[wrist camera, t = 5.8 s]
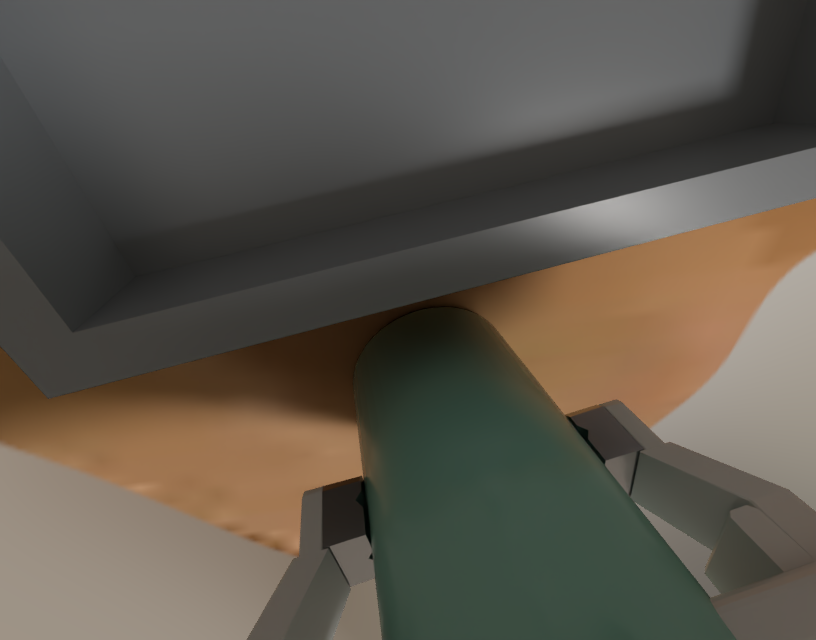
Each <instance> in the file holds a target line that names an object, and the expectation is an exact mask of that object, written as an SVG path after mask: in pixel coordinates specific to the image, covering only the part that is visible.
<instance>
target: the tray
mask: <svg viewBox="0 0 816 640" xmlns="http://www.w3.org/2000/svg"><path fill="white" fill-rule="evenodd" d="M814 198H816V0H0V346H1V348H2V349H3V350H4V351H5V352H6V353H7V354H8V355H9V356H10V357H11V358H12V360H13V361H14V362H15V363H16V364H17V365H18V366H19V367H20V368H21V369H22V371H23V372H24V373H25V374H26V375H27V376H28V377H29V378H30V379H31V380H32V382H33V383H34V384H35V385H36V386H37V387H38V388H39V389H40V390H41V391H42V393H43V394H44V395H45V396H46V397H47V398H48V399H49V398H53V397H57V396H61V395H65V394H69V393H72V392H76V391H80V390H84V389H88V388H91V387H95V386H99V385H103V384H107V383H111V382H114V381H118V380H122V379H126V378H130V377H133V376H137V375H141V374H145V373H149V372H153V371H156V370H160V369H164V368H168V367H172V366H176V365H179V364H183V363H187V362H191V361H195V360H198V359H202V358H206V357H210V356H214V355H218V354H221V353H225V352H229V351H233V350H237V349H240V348H244V347H248V346H252V345H256V344H260V343H263V342H267V341H271V340H275V339H279V338H283V337H286V336H290V335H294V334H298V333H302V332H305V331H309V330H313V329H317V328H321V327H325V326H328V325H332V324H336V323H340V322H344V321H347V320H351V319H355V318H359V317H363V316H367V315H370V314H374V313H378V312H382V311H386V310H390V309H393V308H397V307H401V306H405V305H409V304H412V303H416V302H420V301H424V300H428V299H432V298H435V297H439V296H443V295H447V294H451V293H454V292H458V291H462V290H466V289H470V288H474V287H477V286H481V285H485V284H489V283H493V282H497V281H500V280H504V279H508V278H512V277H516V276H519V275H523V274H527V273H531V272H535V271H539V270H542V269H546V268H550V267H554V266H558V265H561V264H565V263H569V262H573V261H577V260H581V259H584V258H588V257H592V256H596V255H600V254H604V253H607V252H611V251H615V250H619V249H623V248H626V247H630V246H634V245H638V244H642V243H646V242H649V241H653V240H657V239H661V238H665V237H668V236H672V235H676V234H680V233H684V232H688V231H691V230H695V229H699V228H703V227H707V226H711V225H714V224H718V223H722V222H726V221H730V220H733V219H737V218H741V217H745V216H749V215H753V214H756V213H760V212H764V211H768V210H772V209H775V208H779V207H783V206H787V205H791V204H795V203H798V202H802V201H806V200H810V199H814Z"/></svg>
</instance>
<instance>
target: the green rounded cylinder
mask: <svg viewBox="0 0 816 640" xmlns="http://www.w3.org/2000/svg"><path fill="white" fill-rule="evenodd" d="M353 391H354V400H355V409H356V417H357V426H358V435H359V443H360V452H361V461H362V469H363V478H364V487H365V495H366V504H367V513H368V521H369V530H370V539H371V547H372V556H373V565H374V574H375V582H376V590H377V599H378V608H379V616H380V625H381V633H382V640H737V639H736V638H735V637H734V635H733V634H732V632H731V631H730V630H729V628H728V627H727V626H726V624H725V623H724V621H723V620H722V619H721V617H720V616H719V614H718V613H717V611H716V609H715V608H714V606H713V604H712V603H711V601H710V597H709V596H708V594H707V593H706V592H705V590H704V589H703V588H702V587H701V585H700V584H699V583H698V581H697V580H696V579H695V578H694V576H693V575H692V574H691V573H690V571H689V570H688V569H687V568H686V567H685V565H684V564H683V563H682V561H681V560H680V559H679V558H678V556H677V555H676V554H675V553H674V551H673V550H672V549H671V548H670V547H669V545H668V544H667V543H666V541H665V540H664V539H663V538H662V537H661V535H660V534H659V533H658V531H657V530H656V529H655V528H654V526H653V525H652V524H651V523H650V521H649V520H648V519H647V518H646V516H645V515H644V514H643V513H642V511H641V510H640V509H639V508H638V506H637V505H636V504H635V503H634V501H633V500H632V499H631V498H630V496H629V495H628V494H627V493H626V491H625V490H624V489H623V487H622V486H621V485H620V484H619V482H618V481H617V480H616V479H615V477H614V476H613V475H612V474H611V472H610V471H609V470H608V469H607V467H606V466H605V465H604V464H603V462H602V461H601V460H600V459H599V457H598V456H597V455H596V454H595V452H594V451H593V450H592V449H591V447H590V446H589V445H588V444H587V442H586V441H585V440H584V439H583V437H582V436H581V435H580V434H579V432H578V431H577V430H576V429H575V427H574V426H573V425H572V424H571V422H570V421H569V420H568V419H567V417H566V416H565V415H564V414H563V412H562V411H561V410H560V409H559V407H558V406H557V405H556V404H555V402H554V401H553V400H552V399H551V397H550V396H549V395H548V393H547V392H546V391H545V390H544V388H543V387H542V386H541V385H540V383H539V382H538V381H537V380H536V378H535V377H534V376H533V375H532V373H531V372H530V371H529V370H528V368H527V367H526V366H525V365H524V363H523V362H522V361H521V360H520V358H519V357H518V356H517V355H516V353H515V352H514V351H513V350H512V348H511V347H510V346H509V345H508V343H507V342H506V341H505V340H504V338H503V337H502V336H501V335H500V333H499V332H498V331H497V330H496V328H495V327H494V326H493V325H492V324H491V323H490V322H489V321H487V320H486V319H484V318H483V317H481V316H479V315H477V314H475V313H473V312H470V311H467V310H464V309H459V308H453V307H437V308H428V309H423V310H419V311H416V312H413V313H410V314H407V315H405V316H403V317H401V318H398V319H397V320H395V321H393V322H392V323H390V324H388V325H387V326H386V327H384V328H383V329H382V330H380V331H379V332H378V333H377V334H376V335H375V336H374V337H373V338H372V339H371V340H370V341H369V343H368V344H367V345H366V347H365V348H364V350H363V351H362V353H361V355H360V356H359V359H358V361H357V364H356V367H355V371H354V375H353Z"/></svg>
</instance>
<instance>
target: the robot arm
mask: <svg viewBox="0 0 816 640" xmlns="http://www.w3.org/2000/svg"><path fill="white" fill-rule="evenodd" d="M565 416H566V417H567V419H568V420H569V421H570V422H571V424H572V425H573V426H574V427H575V429H576V430H577V431H578V432H579V434H580V435H581V436H582V437H583V439H584V440H585V441H586V442H587V444H588V445H589V446H590V447H591V449H592V450H593V451H594V452H595V454H596V455H597V456H598V457H599V459H600V460H601V461H602V462H603V464H604V465H605V466H606V467H607V469H608V470H609V471H610V472H611V474H612V475H613V476H614V477H615V479H616V480H617V481H618V482H619V484H620V485H621V486H622V487H623V489H624V490H625V491H626V493H627V494H628V495H629V496H630V497H631V499H632V500H633V501H634V502H636V503H637V504H639V505H641V506H642V507H644V508H645V509H647V510H649V511H650V512H652V513H653V514H655V515H657V516H658V517H660V518H661V519H663V520H664V521H666V522H668V523H669V524H671V525H672V526H674V527H676V528H677V529H679V530H680V531H682V532H684V533H685V534H687V535H688V536H690V537H691V538H693V539H695V540H696V541H698V542H699V543H701V544H703V545H704V546H706V547H707V548H709V549H711V550H712V553H711V555H710V557H709V560H708V562H707V564H706V566H705V574H706V576H707V577H708V578H709V579H710V581H711V582H712V583H713V584H714V585H715V587H716V588H717V589H718V590H719V592H720V593H721V594H720V595H717V596H714V597H711V598H710V601H711V603H712V604H713V606H714V608H715V609H716V611H717V613H718V614H719V616H720V617H721V619H722V620H723V621H724V623H725V624H726V626H727V627H728V628H729V630H730V631H731V632H732V634H733V635H734V637H735V638H736V639H737V640H816V512H815V511H814V510H813V509H812V508H810V507H809V506H808V505H807V504H806V503H805V502H803V501H802V500H801V499H799V498H798V497H797V496H796V495H795V494H794V493H792V492H791V491H790V490H788V489H786V488H783V487H781V486H778V485H776V484H773V483H771V482H768V481H766V480H763V479H761V478H758V477H756V476H753V475H751V474H748V473H746V472H744V471H741V470H739V469H736V468H733V467H731V466H728V465H726V464H724V463H721V462H719V461H716V460H714V459H711V458H709V457H706V456H704V455H701V454H699V453H696V452H694V451H691V450H689V449H686V448H684V447H681V446H679V445H676V444H674V443H671V442H668V443H664V442H663V441H662V440H661V439H660V438H659V437H658V436H656V435H655V434H654V433H653V432H652V431H651V430H650V429H649V428H648V427H647V426H646V425H645V424H644V423H643V422H642V421H641V420H640V419H639V418H638V417H637V416H636V415H635V414H634V413H633V412H632V411H630V410H629V409H628V408H627V407H626V406H625V405H624V404H623V403H622V402H621V401H619V400H617V399H616V400H613V401H609V402H606V403H603V404H599V405H594V406H591V407H588V408H585V409H582V410H579V411H575V412H572V413H569V414H566V415H565ZM374 578H375V574H374V565H373V556H372V547H371V539H370V530H369V521H368V513H367V504H366V495H365V487H364V480H363V478H362V476H359V477H356V478H352V479H348V480H344V481H341V482H337V483H333V484H329V485H326V486H322V487H319V488H315V489H312V490H308V491H305V492H304V494H303V497H302V509H301V529H300V548H299V557H297V558H294V559H293V560H292V562H291V563H290V565H289V567H288V569H287V570H286V572H285V574H284V576H283V577H282V579H281V581H280V583H279V584H278V586H277V588H276V590H275V591H274V593H273V595H272V597H271V598H270V600H269V602H268V603H267V605H266V607H265V609H264V610H263V612H262V614H261V616H260V617H259V619H258V621H257V623H256V624H255V626H254V628H253V630H252V631H251V633H250V635H249V637H248V638H247V640H333V637H334V634H335V632H336V629H337V626H338V623H339V620H340V618H341V615H342V612H343V609H344V607H345V604H346V601H347V598H348V596H349V593H350V590H351V589H350V587H351V586H354V585H357V584H360V583H363V582H365V581H368V580H371V579H374Z"/></svg>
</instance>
